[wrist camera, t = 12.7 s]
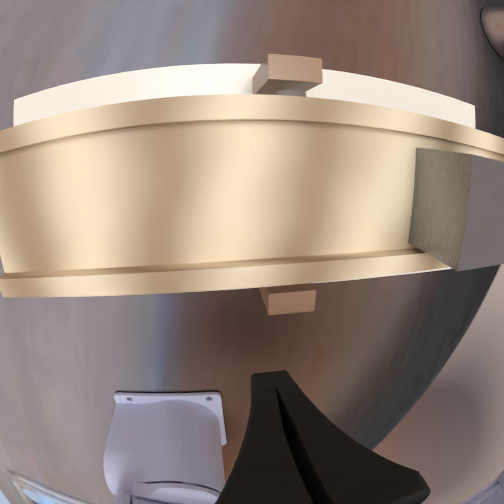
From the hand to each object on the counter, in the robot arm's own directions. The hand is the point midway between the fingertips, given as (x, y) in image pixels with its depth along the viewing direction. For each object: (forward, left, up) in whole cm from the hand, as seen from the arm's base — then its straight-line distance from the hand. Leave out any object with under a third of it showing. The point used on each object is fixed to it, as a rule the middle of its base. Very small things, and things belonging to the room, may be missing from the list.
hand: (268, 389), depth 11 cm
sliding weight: (+11, +7, -4) cm, 13 cm away
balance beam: (+2, +7, -5) cm, 9 cm away
